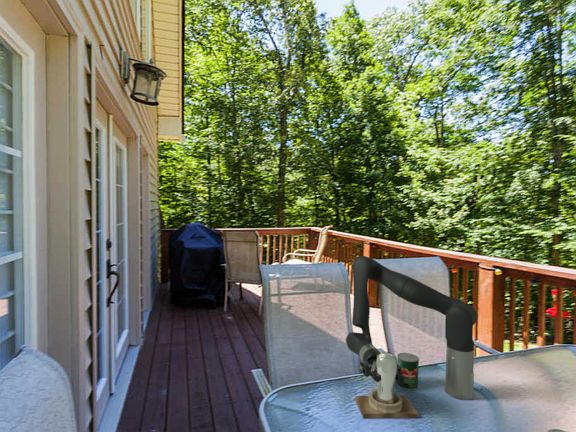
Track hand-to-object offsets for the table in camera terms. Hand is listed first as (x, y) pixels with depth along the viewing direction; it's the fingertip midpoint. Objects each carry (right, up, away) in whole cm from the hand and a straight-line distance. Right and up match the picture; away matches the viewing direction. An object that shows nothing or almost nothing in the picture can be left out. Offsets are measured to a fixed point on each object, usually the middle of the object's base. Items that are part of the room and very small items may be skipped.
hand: (388, 379), depth 119 cm
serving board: (-1, -11, +2) cm, 11 cm away
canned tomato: (+13, -11, +20) cm, 26 cm away
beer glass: (0, -9, +2) cm, 9 cm away
